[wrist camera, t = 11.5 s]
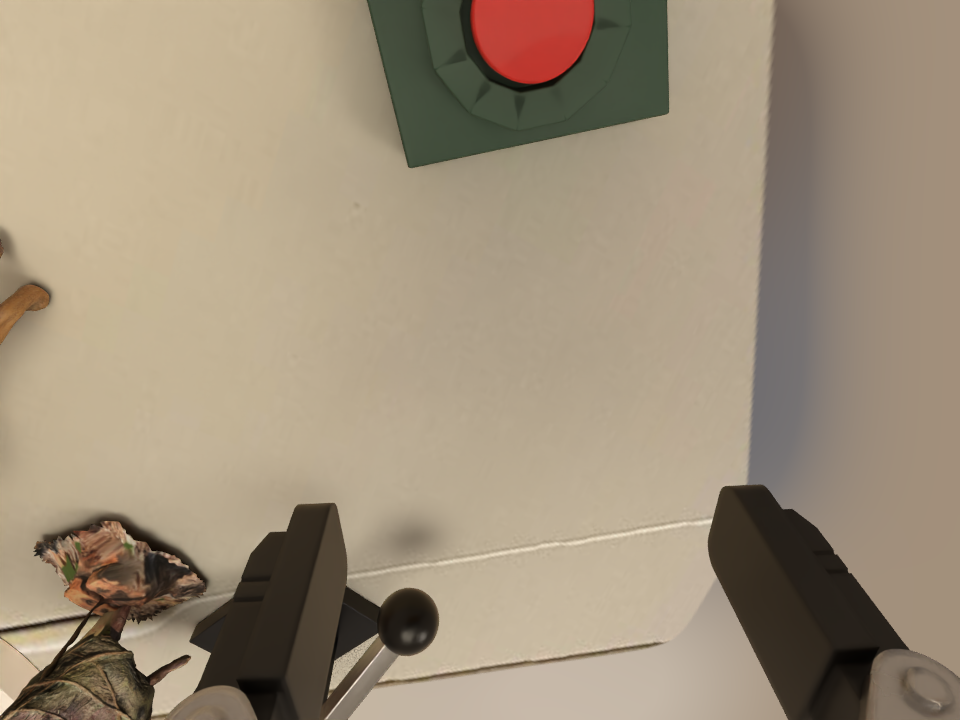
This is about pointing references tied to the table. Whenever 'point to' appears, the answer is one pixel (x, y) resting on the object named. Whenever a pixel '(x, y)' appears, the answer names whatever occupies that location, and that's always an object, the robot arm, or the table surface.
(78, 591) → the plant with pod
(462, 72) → the button block
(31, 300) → the lion figurine
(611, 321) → the table surface
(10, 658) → the joystick
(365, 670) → the lever
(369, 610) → the bracket
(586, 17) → the button
